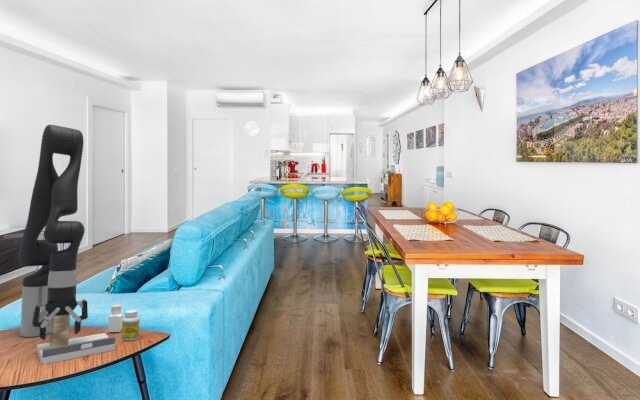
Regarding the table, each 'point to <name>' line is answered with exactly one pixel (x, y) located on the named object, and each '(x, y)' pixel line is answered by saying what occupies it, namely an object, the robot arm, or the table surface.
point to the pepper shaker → (115, 319)
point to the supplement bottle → (130, 325)
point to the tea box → (59, 330)
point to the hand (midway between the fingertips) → (60, 336)
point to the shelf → (76, 348)
